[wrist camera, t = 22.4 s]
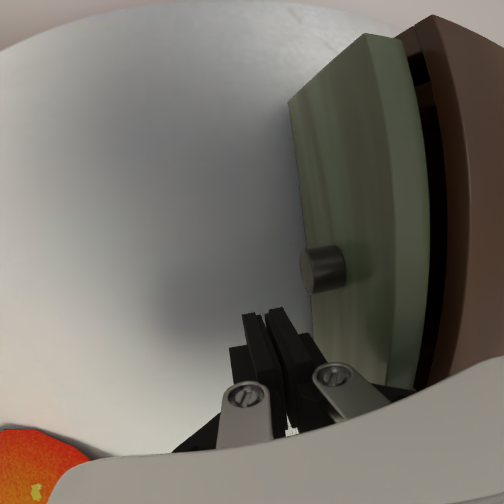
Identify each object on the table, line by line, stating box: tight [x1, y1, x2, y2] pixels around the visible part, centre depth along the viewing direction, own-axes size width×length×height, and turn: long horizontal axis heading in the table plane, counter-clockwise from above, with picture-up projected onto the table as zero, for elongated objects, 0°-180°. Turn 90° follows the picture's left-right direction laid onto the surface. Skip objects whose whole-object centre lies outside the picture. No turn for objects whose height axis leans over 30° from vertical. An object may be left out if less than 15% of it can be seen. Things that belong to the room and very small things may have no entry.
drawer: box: [288, 33, 447, 392], centre depth 11 cm, size 17×14×7 cm
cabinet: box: [394, 15, 504, 388], centre depth 11 cm, size 17×15×9 cm
